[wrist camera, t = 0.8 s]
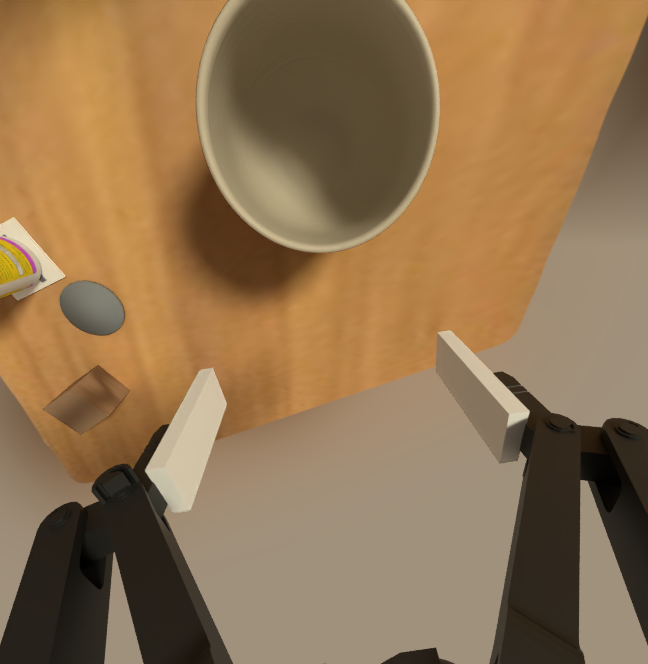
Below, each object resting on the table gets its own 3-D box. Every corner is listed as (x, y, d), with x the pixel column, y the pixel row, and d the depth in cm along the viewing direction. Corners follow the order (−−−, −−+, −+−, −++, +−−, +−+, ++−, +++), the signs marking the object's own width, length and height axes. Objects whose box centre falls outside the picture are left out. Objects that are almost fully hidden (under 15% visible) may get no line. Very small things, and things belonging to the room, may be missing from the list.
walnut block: (72, 383, 46) (42, 409, 41) (98, 364, 45) (70, 389, 40) (105, 407, 49) (80, 434, 43) (130, 390, 48) (108, 416, 42)
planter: (333, 11, 29) (359, -142, 15) (412, 172, 36) (477, 165, 22) (207, 129, 33) (138, 91, 19) (300, 255, 39) (298, 292, 26)
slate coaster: (48, 295, 40) (45, 296, 39) (96, 271, 39) (94, 272, 38) (91, 341, 43) (90, 343, 43) (137, 321, 42) (135, 322, 42)
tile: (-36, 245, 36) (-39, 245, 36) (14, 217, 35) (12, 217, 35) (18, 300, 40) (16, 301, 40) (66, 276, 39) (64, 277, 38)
